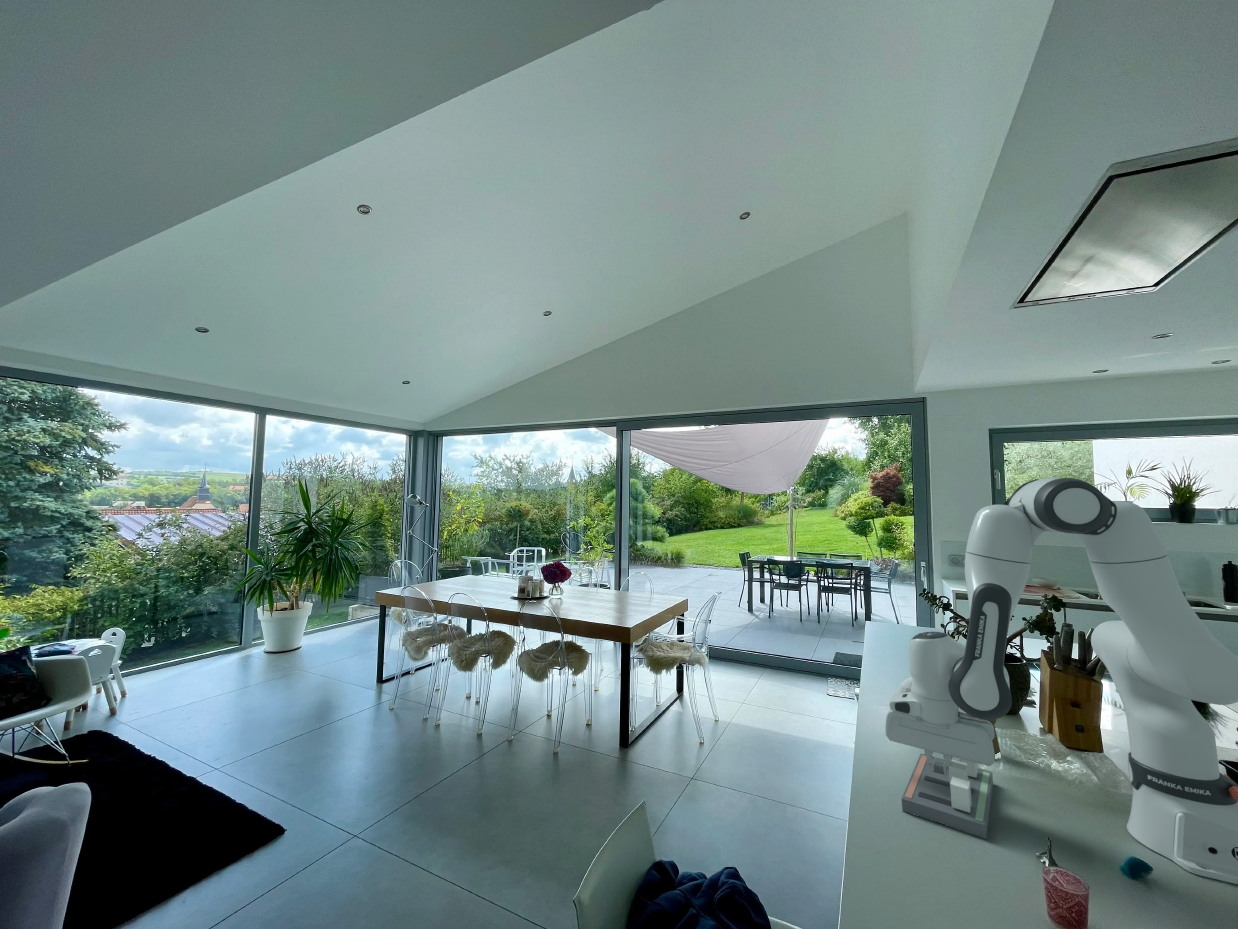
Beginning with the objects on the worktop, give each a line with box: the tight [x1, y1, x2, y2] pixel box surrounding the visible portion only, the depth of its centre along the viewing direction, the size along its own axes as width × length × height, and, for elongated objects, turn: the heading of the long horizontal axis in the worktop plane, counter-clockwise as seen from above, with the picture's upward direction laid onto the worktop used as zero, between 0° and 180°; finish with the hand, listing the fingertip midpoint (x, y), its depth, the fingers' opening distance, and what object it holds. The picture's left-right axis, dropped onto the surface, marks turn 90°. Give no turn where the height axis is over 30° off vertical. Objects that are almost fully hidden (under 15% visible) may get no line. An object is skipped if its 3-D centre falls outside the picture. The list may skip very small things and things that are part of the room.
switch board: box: [901, 753, 994, 840], centre depth 106 cm, size 14×24×3 cm, turn 140°
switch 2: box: [950, 776, 972, 813], centre depth 99 cm, size 3×4×4 cm
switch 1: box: [958, 758, 979, 778], centre depth 111 cm, size 3×4×4 cm
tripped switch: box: [949, 759, 968, 783], centre depth 106 cm, size 3×4×4 cm
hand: (939, 772), depth 108 cm, fingers closed
